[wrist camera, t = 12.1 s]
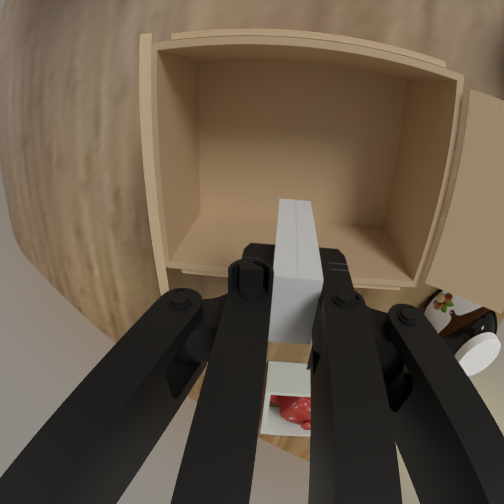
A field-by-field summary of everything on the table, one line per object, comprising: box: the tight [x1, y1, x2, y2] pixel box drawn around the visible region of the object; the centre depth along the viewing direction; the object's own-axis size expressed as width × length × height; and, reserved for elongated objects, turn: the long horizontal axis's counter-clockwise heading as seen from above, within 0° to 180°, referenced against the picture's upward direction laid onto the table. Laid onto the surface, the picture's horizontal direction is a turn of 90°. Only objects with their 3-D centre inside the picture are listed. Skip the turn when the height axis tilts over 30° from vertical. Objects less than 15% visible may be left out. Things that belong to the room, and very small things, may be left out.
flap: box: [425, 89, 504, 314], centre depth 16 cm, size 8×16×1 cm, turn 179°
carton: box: [151, 29, 464, 290], centre depth 24 cm, size 22×19×11 cm
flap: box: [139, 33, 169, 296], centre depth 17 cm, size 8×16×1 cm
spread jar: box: [424, 289, 501, 376], centre depth 33 cm, size 12×11×12 cm
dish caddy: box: [260, 361, 311, 436], centre depth 47 cm, size 17×16×6 cm
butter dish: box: [270, 395, 311, 430], centre depth 46 cm, size 12×12×8 cm
